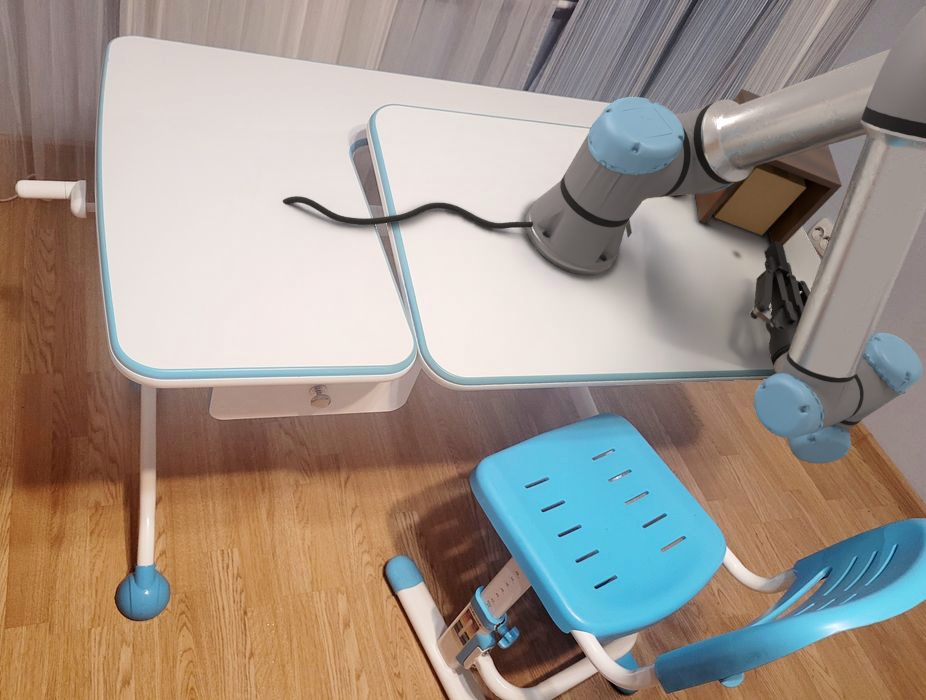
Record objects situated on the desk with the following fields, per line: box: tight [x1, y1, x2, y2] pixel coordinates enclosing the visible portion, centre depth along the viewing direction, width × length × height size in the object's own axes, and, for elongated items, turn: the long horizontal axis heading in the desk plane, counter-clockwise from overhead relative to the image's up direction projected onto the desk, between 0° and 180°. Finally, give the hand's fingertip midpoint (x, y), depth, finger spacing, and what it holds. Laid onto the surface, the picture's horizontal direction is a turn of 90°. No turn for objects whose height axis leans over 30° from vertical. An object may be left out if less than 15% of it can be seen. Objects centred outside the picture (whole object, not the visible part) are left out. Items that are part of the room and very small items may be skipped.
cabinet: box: [694, 88, 843, 246], centre depth 135 cm, size 18×16×16 cm
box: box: [713, 163, 806, 236], centre depth 137 cm, size 14×10×12 cm
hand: (773, 247), depth 124 cm, fingers closed
